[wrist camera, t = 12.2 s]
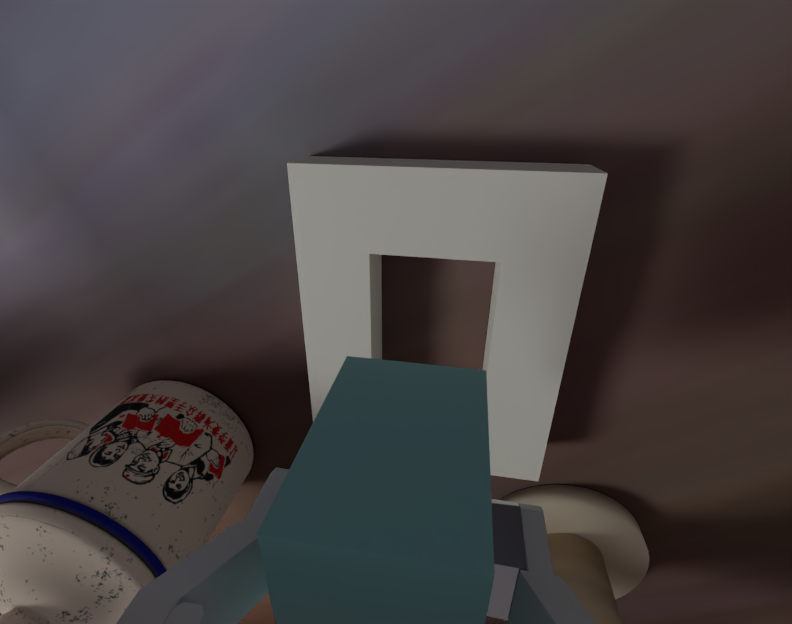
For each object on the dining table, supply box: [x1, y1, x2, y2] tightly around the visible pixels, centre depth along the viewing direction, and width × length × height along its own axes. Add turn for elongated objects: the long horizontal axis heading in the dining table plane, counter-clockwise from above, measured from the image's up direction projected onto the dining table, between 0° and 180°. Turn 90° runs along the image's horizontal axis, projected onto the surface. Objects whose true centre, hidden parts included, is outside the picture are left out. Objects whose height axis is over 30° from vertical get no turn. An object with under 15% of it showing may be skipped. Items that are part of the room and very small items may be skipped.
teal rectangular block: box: [257, 356, 495, 624], centre depth 10 cm, size 6×4×5 cm, turn 0°
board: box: [287, 156, 608, 481], centre depth 19 cm, size 14×11×2 cm
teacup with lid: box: [0, 380, 253, 624], centre depth 21 cm, size 12×9×12 cm
